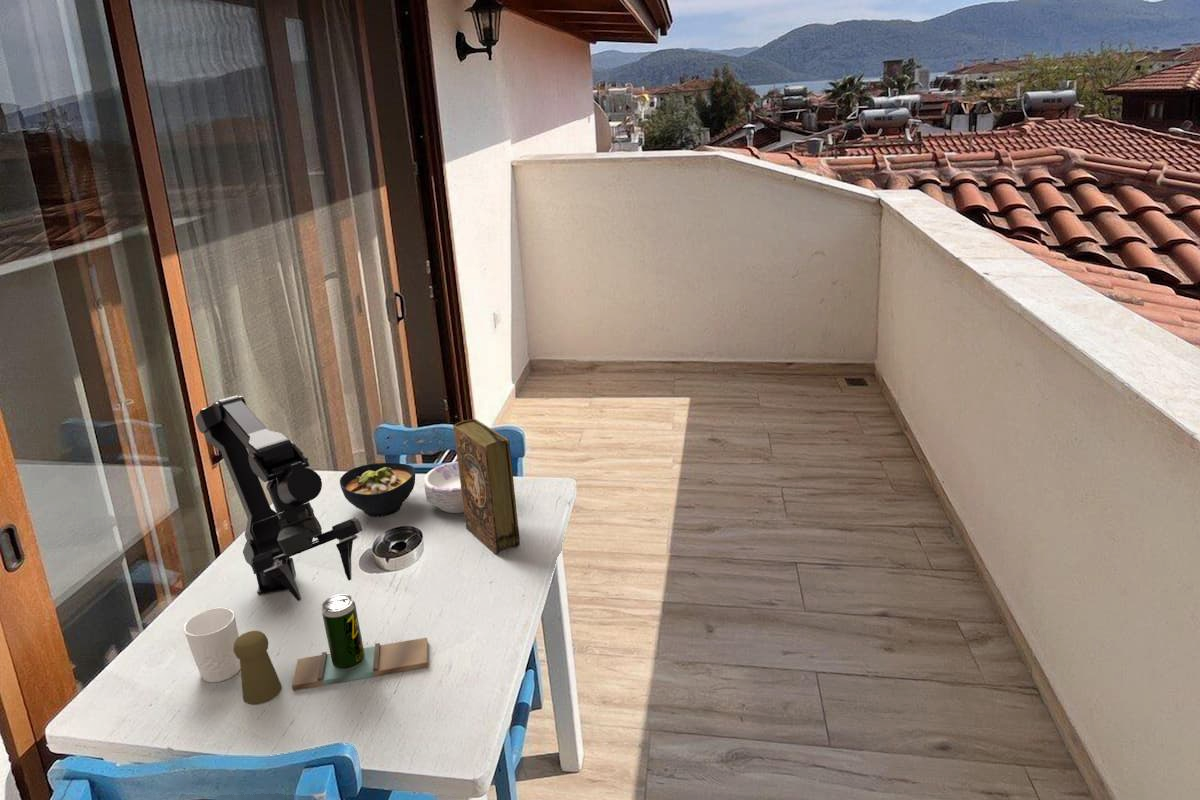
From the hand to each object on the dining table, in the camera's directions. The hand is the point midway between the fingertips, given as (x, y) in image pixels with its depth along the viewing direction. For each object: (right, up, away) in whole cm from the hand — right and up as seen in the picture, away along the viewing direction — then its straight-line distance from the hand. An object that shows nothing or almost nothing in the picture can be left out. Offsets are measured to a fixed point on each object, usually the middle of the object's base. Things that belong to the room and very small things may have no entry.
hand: (325, 590), depth 145 cm
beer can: (+6, -11, -5) cm, 14 cm away
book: (+25, +3, +34) cm, 42 cm away
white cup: (-17, -13, -4) cm, 21 cm away
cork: (-7, -15, -10) cm, 19 cm away
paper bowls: (+15, +9, +50) cm, 53 cm away
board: (+8, -12, -5) cm, 15 cm away
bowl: (-3, +8, +49) cm, 50 cm away
